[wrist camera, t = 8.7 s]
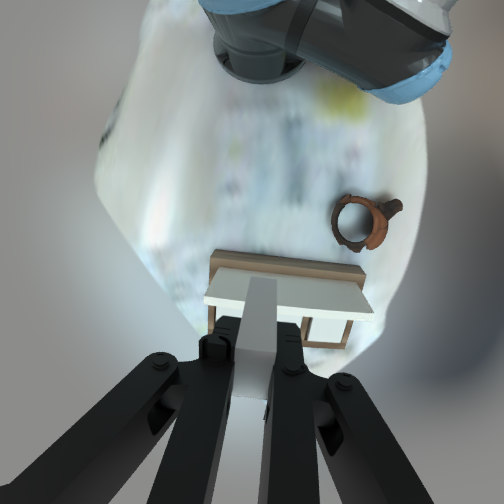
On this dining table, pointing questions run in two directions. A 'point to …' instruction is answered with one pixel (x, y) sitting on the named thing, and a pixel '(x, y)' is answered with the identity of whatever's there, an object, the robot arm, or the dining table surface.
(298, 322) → the middle button
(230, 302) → the pattern card
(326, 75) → the dining table surface
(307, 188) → the dining table surface
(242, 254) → the button board
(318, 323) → the button
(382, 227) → the pottery mug
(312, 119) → the dining table surface
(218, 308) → the button
